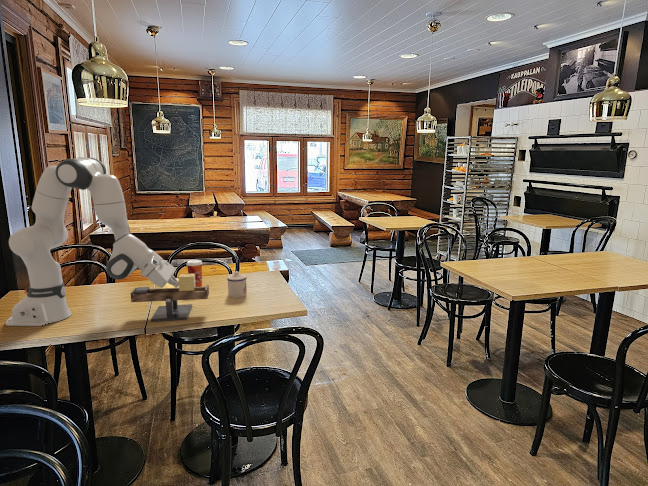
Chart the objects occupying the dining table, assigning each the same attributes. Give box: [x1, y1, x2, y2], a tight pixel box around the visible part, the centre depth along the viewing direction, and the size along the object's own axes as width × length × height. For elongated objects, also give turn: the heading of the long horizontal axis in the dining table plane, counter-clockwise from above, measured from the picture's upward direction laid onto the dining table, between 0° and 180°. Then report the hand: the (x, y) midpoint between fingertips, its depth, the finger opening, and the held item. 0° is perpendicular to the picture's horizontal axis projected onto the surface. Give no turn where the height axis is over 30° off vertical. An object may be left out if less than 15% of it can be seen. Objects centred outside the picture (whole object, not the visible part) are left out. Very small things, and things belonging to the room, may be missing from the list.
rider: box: [178, 273, 196, 292], centre depth 176 cm, size 6×4×8 cm
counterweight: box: [135, 286, 151, 294], centre depth 174 cm, size 4×4×3 cm
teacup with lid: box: [226, 270, 248, 299], centre depth 202 cm, size 12×9×12 cm
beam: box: [130, 284, 210, 303], centre depth 176 cm, size 30×7×5 cm, turn 99°
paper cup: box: [186, 259, 203, 287], centre depth 211 cm, size 8×8×14 cm
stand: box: [150, 297, 193, 323], centre depth 177 cm, size 14×15×9 cm
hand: (178, 285), depth 175 cm, fingers closed, pressing on rider
